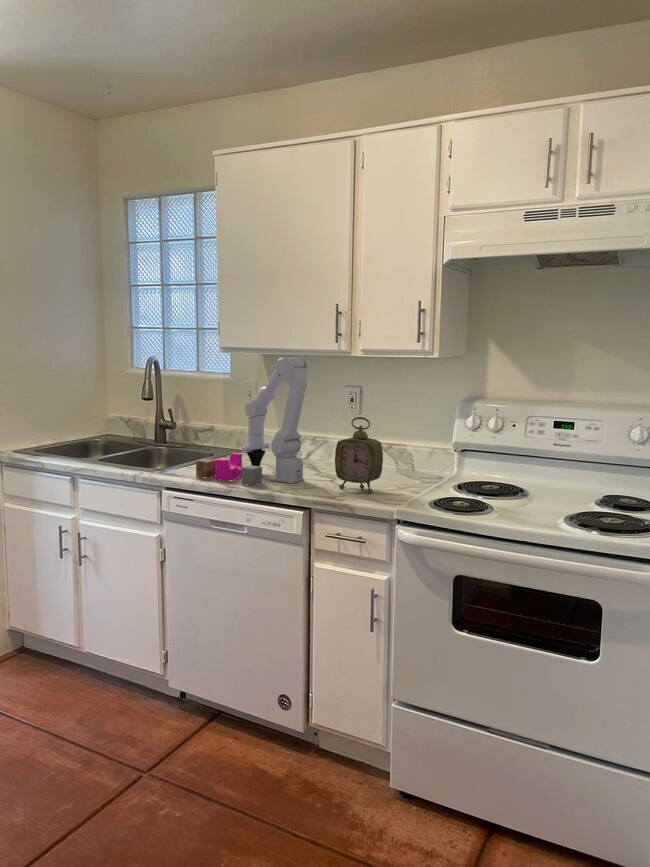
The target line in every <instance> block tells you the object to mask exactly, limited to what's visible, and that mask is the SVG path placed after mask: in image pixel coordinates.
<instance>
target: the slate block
mask: <svg viewBox="0 0 650 867" xmlns="http://www.w3.org/2000/svg"><path fill="white" fill-rule="evenodd" d="M260 483H262V484H263V467H262V466H260V467H259V466H252V464H249V465H246V466H242V476H241V485H243V484H248V485H247V486H249V485H256V486H258V485H257V484H259V485H261V484H260Z"/></svg>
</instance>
